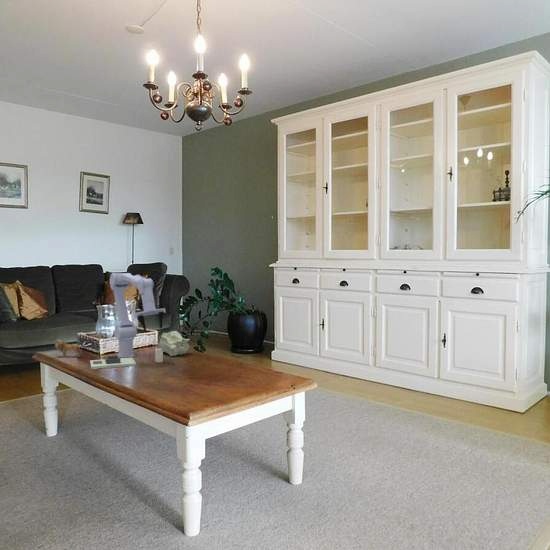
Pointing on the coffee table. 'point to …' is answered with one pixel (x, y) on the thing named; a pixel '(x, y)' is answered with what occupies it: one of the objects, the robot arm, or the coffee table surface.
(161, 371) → the coffee table surface
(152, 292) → the robot arm
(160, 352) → the plug
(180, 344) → the folded clay sculpture
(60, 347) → the lion figurine
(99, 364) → the board
